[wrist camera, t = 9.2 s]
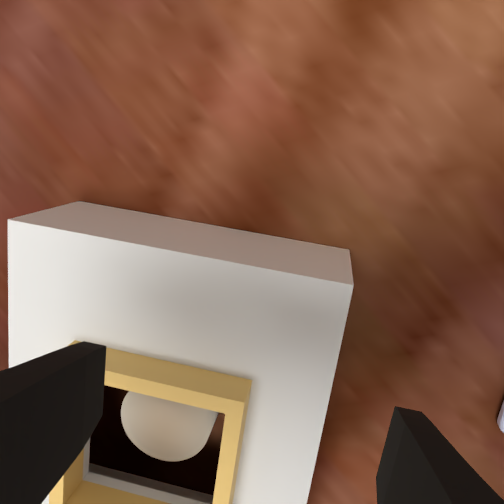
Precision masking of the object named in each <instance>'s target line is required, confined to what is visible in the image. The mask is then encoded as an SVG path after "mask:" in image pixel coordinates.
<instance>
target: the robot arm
mask: <svg viewBox="0 0 504 504" xmlns="http://www.w3.org/2000/svg"><path fill="white" fill-rule="evenodd" d="M105 364H106V346H105V345H100V344H95V343H90V342H86V341H83V342H79V343H76V344H73V345H70V346H67V347H64V348H61V349H59V350H56V351H53V352H51V353H48V354H45V355H43V356H40V357H37V358H35V359H32V360H29V361H27V362H24V363H22V364H19V365H16V366H14V367H11V368H8V369H5V370H2V371H0V504H41V503H42V502H43V501H44V500H45V498H46V497H47V496H48V494H49V493H50V492H51V491H52V489H53V488H54V487H55V485H56V484H57V483H58V482H59V480H60V479H61V478H62V476H63V475H64V474H65V472H66V471H67V470H68V468H69V467H70V466H71V465H72V463H73V462H74V461H75V459H76V458H77V457H78V455H79V454H80V453H81V451H82V450H83V448H84V446H85V445H86V443H87V441H88V440H89V438H90V437H91V435H92V433H93V431H94V430H95V428H96V426H97V424H98V422H99V421H100V419H101V417H102V415H103V399H104V381H105ZM497 424H498V426H499V428H500V430H501V431H502V432H503V433H504V401H503V404H502V407H501V410H500V413H499V416H498V419H497ZM376 485H377V504H504V500H503V499H502V498H501V497H500V496H499V495H498V494H497V493H496V492H495V491H494V490H493V489H492V488H491V487H490V486H489V485H488V484H487V483H486V482H485V481H484V480H483V479H482V478H481V477H480V476H479V475H478V474H477V473H476V471H475V470H474V469H473V468H472V467H471V466H470V465H469V464H468V463H467V462H466V461H465V460H464V458H463V457H462V456H461V455H460V454H459V453H458V452H457V451H456V449H455V448H454V447H453V446H452V445H451V444H450V443H449V442H448V440H447V439H446V438H445V437H444V436H443V435H442V434H441V432H440V431H439V430H438V429H437V428H436V427H435V426H434V425H433V423H432V422H431V421H430V420H429V419H428V418H427V417H426V416H425V415H424V414H423V413H422V412H420V411H415V410H410V409H405V408H401V407H396V406H395V408H394V412H393V416H392V419H391V423H390V427H389V431H388V434H387V438H386V442H385V446H384V450H383V453H382V457H381V461H380V465H379V469H378V472H377V476H376Z"/></svg>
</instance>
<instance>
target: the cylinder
mask: <svg viewBox="0 0 504 504" xmlns="http://www.w3.org/2000/svg"><path fill="white" fill-rule="evenodd" d="M218 413H219V412H216V411H212V410H207V409H203V408H199V407H195V406H191V405H186V404H182V403H178V402H174V401H169V400H165V399H161V398H157V397H153V396H148V395H144V394H140V393H136V392H132V391H129V392H128V393H127V395H126V396H125V398H124V400H123V403H122V406H121V420H122V424H123V428H124V430H125V432H126V434H127V436H128V437H129V439H130V440H131V441H132V442H133V443H134V445H135V446H136V447H138V448H139V449H140V450H141V451H143V452H144V453H146V454H148V455H149V456H151V457H154V458H156V459H160V460H164V461H182V460H186V459H189V458H191V457H193V456H194V455H196V454H197V453H198V452H200V451H201V450H202V448H203V447H204V446H205V444H206V442H207V440H208V438H209V435H210V433H211V430H212V428H213V425H214V423H215V421H216V418H217V416H218Z"/></svg>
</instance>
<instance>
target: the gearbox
mask: <svg viewBox="0 0 504 504" xmlns="http://www.w3.org/2000/svg"><path fill="white" fill-rule="evenodd" d="M353 287H354V283H353V275H352V267H351V259H350V251H349V249H343V248H337V247H332V246H326V245H321V244H315V243H310V242H304V241H299V240H293V239H287V238H282V237H276V236H271V235H265V234H260V233H254V232H249V231H243V230H237V229H232V228H226V227H221V226H215V225H210V224H204V223H199V222H193V221H187V220H182V219H176V218H171V217H165V216H160V215H154V214H149V213H143V212H137V211H132V210H126V209H121V208H115V207H110V206H104V205H99V204H93V203H87V202H82V201H78V202H74V203H70V204H66V205H62V206H58V207H54V208H50V209H47V210H43V211H39V212H35V213H31V214H27V215H23V216H19V217H15V218H11V219H8V319H9V368H11V367H14V366H16V365H19V364H22V363H24V362H27V361H29V360H32V359H35V358H37V357H40V356H43V355H45V354H48V353H51V352H53V351H56V350H59V349H61V348H64V347H67V346H70V345H73V344H76V343H79V342H83V341H86V342H90V343H95V344H100V345H105V346H106V364H105V381H104V385H106V386H110V387H115V388H119V389H123V390H127V391H132V392H136V393H140V394H144V395H148V396H153V397H157V398H161V399H165V400H169V401H174V402H178V403H182V404H186V405H191V406H195V407H199V408H203V409H207V410H212V411H216V412H220V413H224V414H225V420H224V427H223V434H222V441H221V448H220V455H219V462H218V468H217V475H216V482H215V489H214V496H213V495H209V494H205V493H202V492H198V491H194V490H190V489H186V488H183V487H179V486H175V485H171V484H167V483H164V482H160V481H156V480H152V479H148V478H145V477H141V476H137V475H133V474H129V473H126V472H122V471H118V470H114V469H110V468H107V467H103V466H99V465H95V464H91V463H89V453H90V438H89V440H88V441H87V443H86V445H85V446H84V448H83V450H82V451H81V453H80V454H79V455H78V457H77V458H76V459H75V461H74V462H73V463H72V465H71V466H70V467H69V468H68V470H67V471H66V472H65V474H64V475H63V476H62V478H61V479H60V480H59V482H58V483H57V484H56V485H55V487H54V488H53V489H52V491H51V492H50V493H49V494H48V496H47V497H46V498H45V500H44V501H43V502H42V503H41V504H307V499H308V495H309V490H310V486H311V481H312V476H313V472H314V467H315V462H316V458H317V453H318V449H319V444H320V439H321V435H322V430H323V425H324V421H325V416H326V412H327V407H328V402H329V398H330V393H331V388H332V384H333V379H334V375H335V370H336V365H337V361H338V356H339V351H340V347H341V342H342V338H343V333H344V328H345V324H346V319H347V314H348V310H349V305H350V301H351V296H352V291H353Z"/></svg>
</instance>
